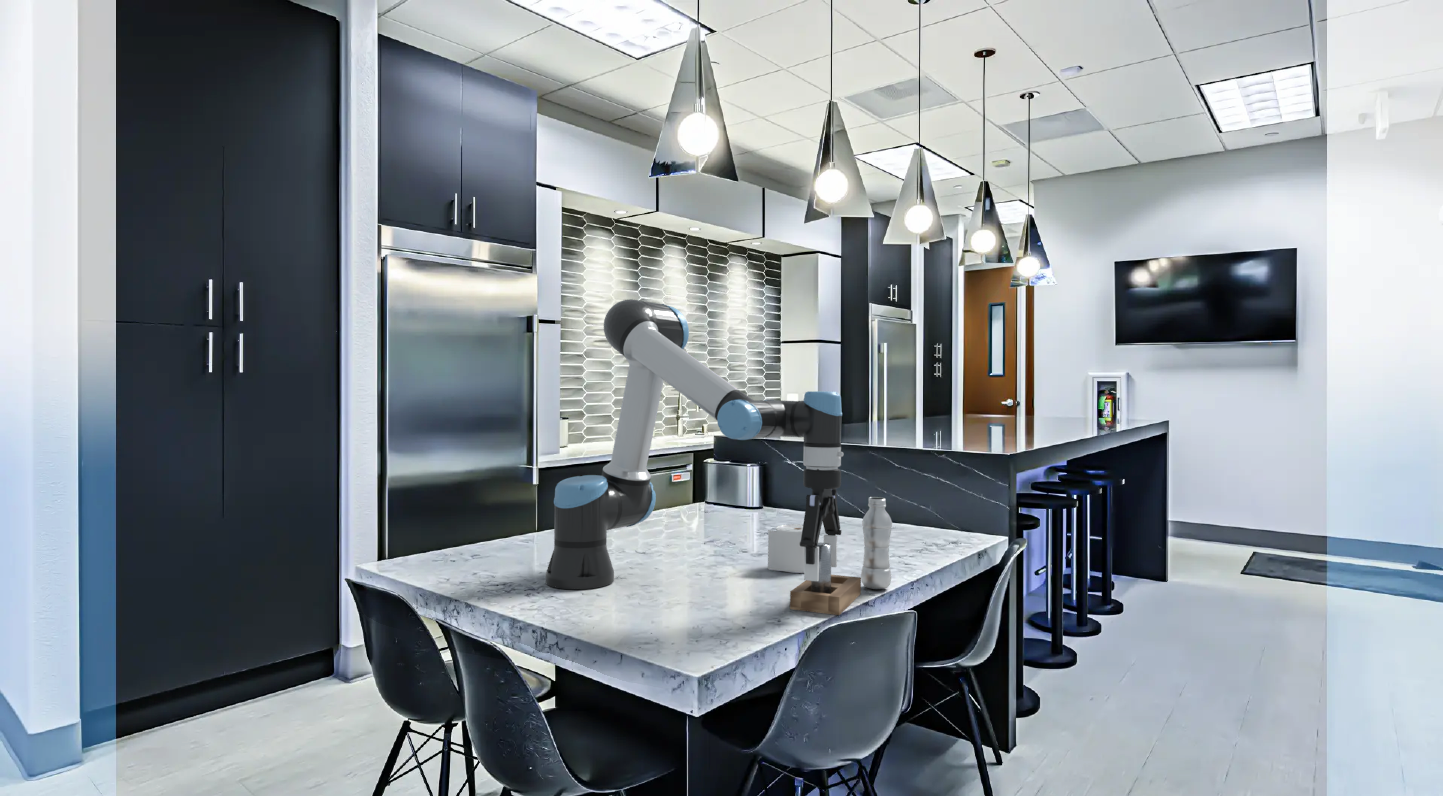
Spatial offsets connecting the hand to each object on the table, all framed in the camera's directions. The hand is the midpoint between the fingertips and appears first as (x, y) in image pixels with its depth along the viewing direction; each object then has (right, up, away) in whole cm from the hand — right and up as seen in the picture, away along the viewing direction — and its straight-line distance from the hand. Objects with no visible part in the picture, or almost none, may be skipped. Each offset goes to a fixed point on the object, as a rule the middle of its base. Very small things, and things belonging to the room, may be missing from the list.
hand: (821, 573), depth 157 cm
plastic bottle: (+14, -7, +15) cm, 22 cm away
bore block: (+2, -7, +4) cm, 8 cm away
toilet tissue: (-2, -7, +34) cm, 35 cm away
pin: (0, -6, 0) cm, 6 cm away
